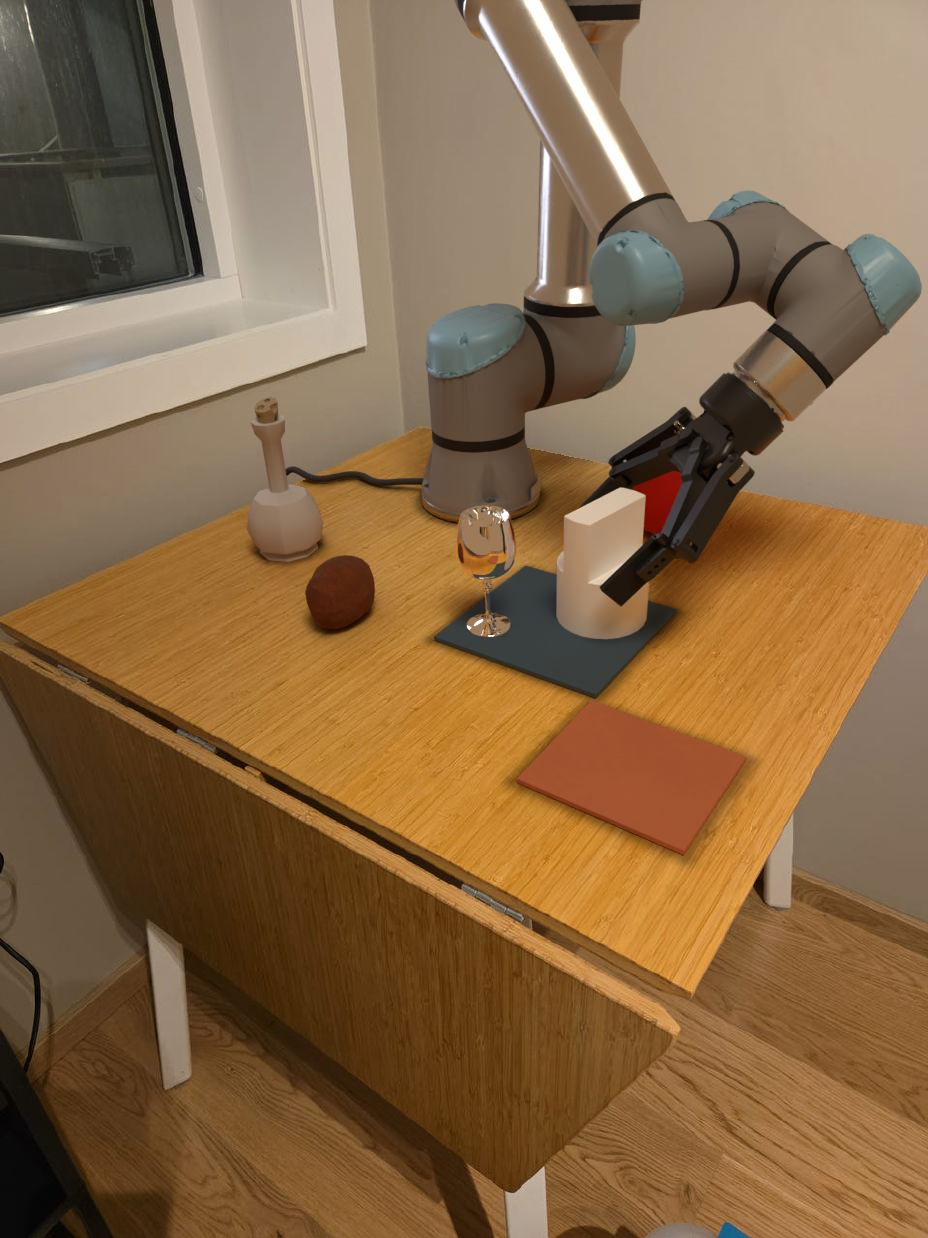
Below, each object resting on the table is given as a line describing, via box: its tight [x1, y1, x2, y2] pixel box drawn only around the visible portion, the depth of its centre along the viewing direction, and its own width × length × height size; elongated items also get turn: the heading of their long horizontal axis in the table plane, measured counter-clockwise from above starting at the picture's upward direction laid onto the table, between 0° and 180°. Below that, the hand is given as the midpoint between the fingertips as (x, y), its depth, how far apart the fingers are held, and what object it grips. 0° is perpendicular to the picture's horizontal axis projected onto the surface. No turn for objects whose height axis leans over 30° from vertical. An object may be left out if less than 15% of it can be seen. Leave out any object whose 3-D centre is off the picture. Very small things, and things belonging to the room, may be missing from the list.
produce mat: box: [516, 700, 747, 856], centre depth 71 cm, size 14×12×1 cm
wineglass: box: [455, 505, 517, 637], centre depth 87 cm, size 6×6×12 cm
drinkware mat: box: [433, 565, 678, 699], centre depth 90 cm, size 18×17×1 cm
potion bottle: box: [246, 396, 324, 563], centre depth 103 cm, size 9×9×18 cm
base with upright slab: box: [556, 488, 650, 639], centre depth 88 cm, size 9×9×12 cm
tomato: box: [633, 471, 706, 535], centre depth 106 cm, size 11×12×9 cm
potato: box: [304, 554, 376, 630], centre depth 92 cm, size 7×9×6 cm
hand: (590, 562), depth 88 cm, fingers open, 13 cm apart
